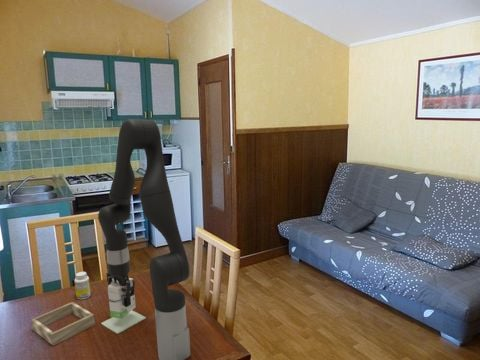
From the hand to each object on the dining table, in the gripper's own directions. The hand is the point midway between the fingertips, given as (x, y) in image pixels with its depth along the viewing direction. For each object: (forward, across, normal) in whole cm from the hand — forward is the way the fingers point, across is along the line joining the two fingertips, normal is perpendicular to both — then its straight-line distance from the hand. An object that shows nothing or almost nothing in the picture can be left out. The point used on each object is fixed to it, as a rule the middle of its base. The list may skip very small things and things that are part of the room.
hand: (122, 303), depth 136 cm
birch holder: (+7, +14, +15) cm, 22 cm away
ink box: (+4, 0, 0) cm, 4 cm away
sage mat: (+7, 0, 0) cm, 7 cm away
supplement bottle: (+7, +29, -1) cm, 30 cm away
